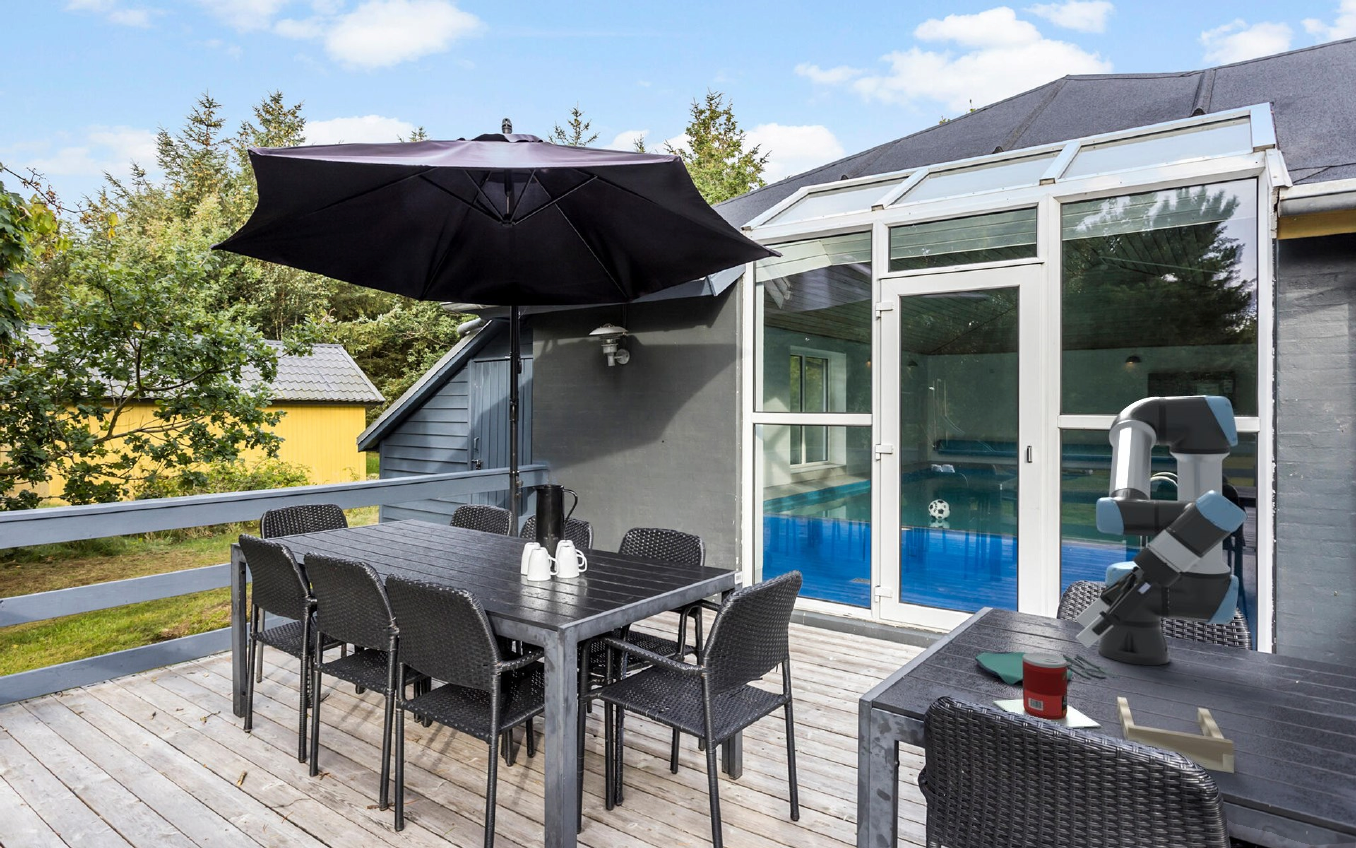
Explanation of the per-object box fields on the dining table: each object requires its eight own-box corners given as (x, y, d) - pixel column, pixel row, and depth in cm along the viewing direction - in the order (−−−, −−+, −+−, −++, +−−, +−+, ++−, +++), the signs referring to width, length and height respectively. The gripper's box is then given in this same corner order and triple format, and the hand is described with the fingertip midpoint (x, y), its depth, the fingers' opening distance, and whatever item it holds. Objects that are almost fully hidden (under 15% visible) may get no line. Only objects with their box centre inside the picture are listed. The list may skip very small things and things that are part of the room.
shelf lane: (1117, 711, 147) (1117, 686, 147) (1207, 724, 140) (1207, 698, 140) (1129, 755, 128) (1128, 727, 128) (1234, 773, 121) (1233, 743, 121)
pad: (1056, 699, 153) (1056, 697, 153) (1100, 727, 139) (1100, 725, 139) (993, 702, 152) (993, 701, 152) (1031, 731, 138) (1031, 729, 138)
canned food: (1072, 721, 141) (1072, 665, 141) (1029, 718, 143) (1028, 663, 143) (1060, 706, 149) (1059, 653, 149) (1018, 704, 150) (1018, 651, 150)
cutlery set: (961, 660, 180) (961, 651, 180) (1076, 657, 182) (1076, 648, 182) (1003, 690, 160) (1003, 680, 160) (1131, 687, 162) (1131, 677, 162)
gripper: (1192, 589, 125) (1099, 667, 132) (1174, 561, 147) (1095, 629, 154) (1153, 557, 128) (1064, 636, 135) (1141, 535, 150) (1065, 603, 157)
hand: (1080, 633), depth 144 cm, fingers open, 13 cm apart
